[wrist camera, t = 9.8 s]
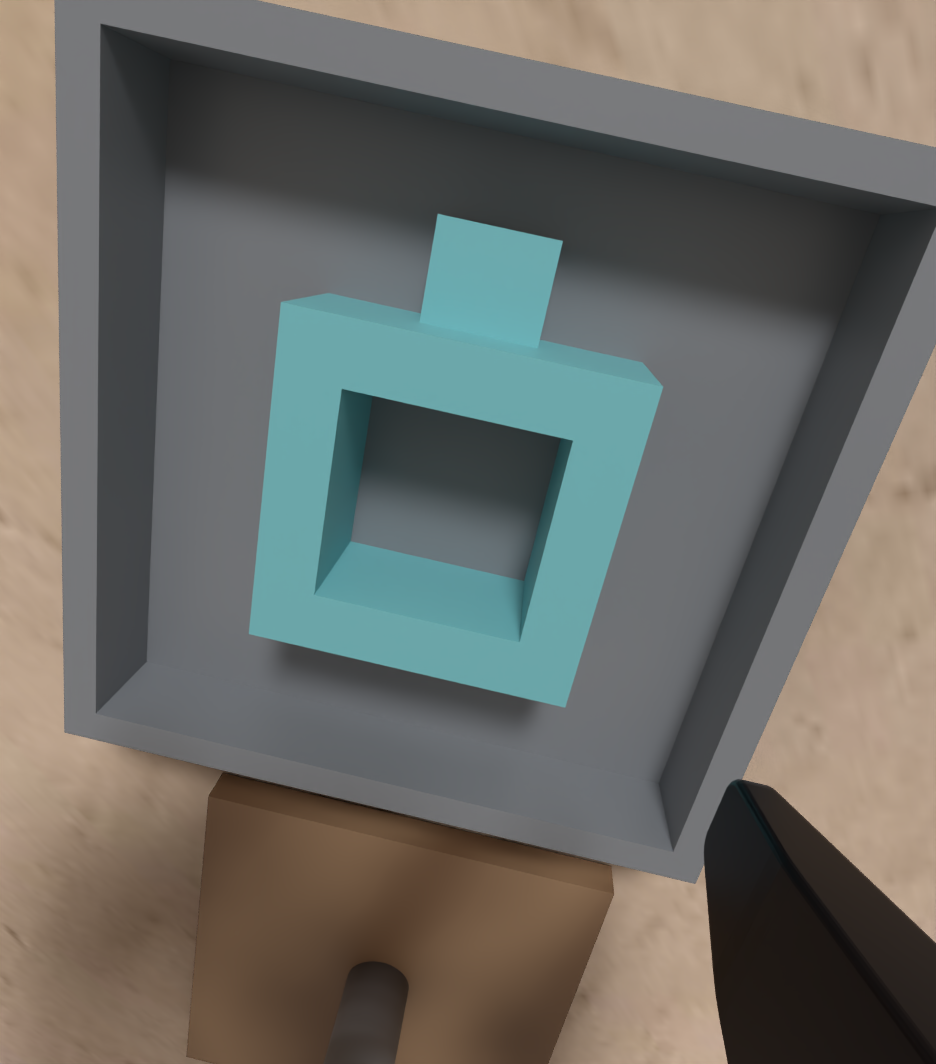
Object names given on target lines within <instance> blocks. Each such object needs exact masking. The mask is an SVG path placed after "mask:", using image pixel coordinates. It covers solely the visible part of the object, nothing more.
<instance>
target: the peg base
mask: <svg viewBox="0 0 936 1064" xmlns="http://www.w3.org/2000/svg"><path fill="white" fill-rule="evenodd" d="M613 896H614V888H613V878H612V869H611V866H608V865H604V864H600V863H596V862H592V861H588V860H583V859H579V858H575V857H571V856H567V855H563V854H558V853H554V852H550V851H546V850H542V849H538V848H533V847H529V846H525V845H521V844H517V843H513V842H508V841H504V840H500V839H496V838H492V837H488V836H483V835H479V834H475V833H471V832H467V831H463V830H459V829H454V828H450V827H446V826H442V825H438V824H434V823H429V822H425V821H421V820H417V819H413V818H409V817H404V816H400V815H396V814H392V813H388V812H384V811H379V810H375V809H371V808H367V807H363V806H359V805H354V804H350V803H346V802H342V801H338V800H334V799H330V798H325V797H321V796H317V795H313V794H309V793H305V792H300V791H296V790H292V789H288V788H284V787H280V786H275V785H271V784H267V783H263V782H259V781H255V780H250V779H246V778H242V777H238V776H234V775H230V774H226V773H223V774H222V775H221V777H220V779H219V780H218V782H217V783H216V785H215V787H214V788H213V790H212V791H211V793H210V795H209V797H208V809H207V821H206V832H205V844H204V856H203V868H202V880H201V891H200V903H199V915H198V927H197V939H196V950H195V962H194V974H193V986H192V998H191V1010H190V1021H189V1033H188V1045H187V1057H190V1058H194V1059H198V1060H202V1061H206V1062H210V1063H214V1064H548V1063H549V1060H550V1057H551V1055H552V1052H553V1050H554V1047H555V1045H556V1042H557V1039H558V1037H559V1034H560V1032H561V1029H562V1027H563V1024H564V1021H565V1019H566V1016H567V1014H568V1011H569V1009H570V1006H571V1003H572V1001H573V998H574V996H575V993H576V991H577V988H578V985H579V983H580V980H581V978H582V975H583V973H584V970H585V967H586V965H587V962H588V960H589V957H590V955H591V952H592V949H593V947H594V944H595V942H596V939H597V937H598V934H599V932H600V929H601V926H602V924H603V921H604V919H605V916H606V914H607V911H608V908H609V906H610V903H611V901H612V898H613Z"/></svg>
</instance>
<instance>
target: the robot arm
mask: <svg viewBox="0 0 936 1064" xmlns="http://www.w3.org/2000/svg"><path fill="white" fill-rule="evenodd" d="M704 866H705V878H706V890H707V902H708V914H709V926H710V939H711V951H712V963H713V974H714V984H715V993H716V1000H717V1006H718V1012H719V1018H720V1024H721V1029H722V1034H723V1040H724V1045H725V1050H726V1056H727V1061H728V1064H936V943H935V942H934V941H933V940H932V939H931V938H930V937H929V936H928V935H927V934H926V933H925V932H924V931H923V930H922V929H920V928H919V927H918V926H917V925H916V924H915V923H914V922H913V921H912V920H911V919H910V918H909V917H908V916H907V915H906V914H905V913H904V912H903V911H902V910H901V909H899V908H898V907H897V906H896V905H895V904H894V903H893V902H892V901H891V900H890V899H889V898H888V897H887V896H886V895H885V894H884V893H883V892H882V891H881V890H880V889H878V888H877V887H876V886H875V885H874V884H873V883H872V882H871V881H870V880H869V879H868V878H867V877H866V876H865V875H864V874H863V873H862V872H861V871H860V870H859V869H857V868H856V867H855V866H854V865H853V864H852V863H851V862H850V861H849V860H848V859H847V858H846V857H845V856H844V855H843V854H842V853H841V852H840V851H839V850H838V849H836V848H835V847H834V846H833V845H832V844H831V843H830V842H829V841H828V840H827V839H826V838H825V837H824V836H823V835H822V834H821V833H820V832H819V831H818V830H817V829H815V828H814V827H813V826H812V825H811V824H810V823H809V822H808V821H807V820H806V819H805V818H804V817H803V816H802V815H801V814H800V813H799V812H798V811H797V810H796V809H794V808H793V807H792V806H791V805H790V804H789V803H788V802H787V801H786V800H785V799H784V798H783V797H782V796H781V795H780V794H779V793H778V792H777V791H776V790H774V789H773V788H771V787H770V786H767V785H763V784H758V783H754V782H750V781H746V780H741V779H736V780H734V781H732V782H731V783H730V784H729V785H728V786H727V788H726V790H725V792H724V795H723V797H722V799H721V801H720V804H719V806H718V808H717V811H716V813H715V815H714V817H713V820H712V822H711V824H710V827H709V829H708V831H707V834H706V838H705V843H704Z"/></svg>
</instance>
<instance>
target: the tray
mask: <svg viewBox="0 0 936 1064" xmlns="http://www.w3.org/2000/svg"><path fill="white" fill-rule="evenodd" d="M55 66H56V140H57V214H58V287H59V361H60V434H61V508H62V582H63V655H64V729H65V733H69V734H73V735H78V736H82V737H86V738H90V739H94V740H98V741H103V742H107V743H111V744H115V745H119V746H123V747H128V748H132V749H136V750H140V751H144V752H148V753H152V754H157V755H161V756H165V757H169V758H173V759H177V760H182V761H186V762H190V763H194V764H198V765H202V766H207V767H211V768H215V769H219V770H223V771H227V772H232V773H236V774H240V775H244V776H248V777H252V778H257V779H261V780H265V781H269V782H273V783H277V784H282V785H286V786H290V787H294V788H298V789H302V790H306V791H311V792H315V793H319V794H323V795H327V796H331V797H336V798H340V799H344V800H348V801H352V802H356V803H361V804H365V805H369V806H373V807H377V808H381V809H386V810H390V811H394V812H398V813H402V814H406V815H411V816H415V817H419V818H423V819H427V820H431V821H436V822H440V823H444V824H448V825H452V826H456V827H460V828H465V829H469V830H473V831H477V832H481V833H485V834H490V835H494V836H498V837H502V838H506V839H510V840H515V841H519V842H523V843H527V844H531V845H535V846H540V847H544V848H548V849H552V850H556V851H560V852H565V853H569V854H573V855H577V856H581V857H585V858H590V859H594V860H598V861H602V862H606V863H610V864H614V865H619V866H623V867H627V868H631V869H635V870H639V871H644V872H648V873H652V874H656V875H660V876H664V877H669V878H673V879H677V880H681V881H685V882H689V883H694V884H695V883H696V881H697V879H698V877H699V874H700V872H701V870H702V868H703V865H704V843H705V838H706V834H707V831H708V829H709V827H710V824H711V822H712V820H713V817H714V815H715V813H716V811H717V808H718V806H719V804H720V801H721V799H722V797H723V795H724V792H725V790H726V788H727V786H728V785H729V784H730V783H731V782H732V781H734V780H736V779H741V780H742V778H743V776H744V773H745V771H746V769H747V767H748V764H749V762H750V760H751V758H752V755H753V753H754V751H755V749H756V746H757V744H758V742H759V740H760V737H761V735H762V733H763V731H764V728H765V726H766V724H767V722H768V720H769V717H770V715H771V713H772V711H773V708H774V706H775V704H776V702H777V699H778V697H779V695H780V693H781V690H782V688H783V686H784V684H785V681H786V679H787V677H788V675H789V672H790V670H791V668H792V666H793V663H794V661H795V659H796V657H797V654H798V652H799V650H800V648H801V645H802V643H803V641H804V639H805V636H806V634H807V632H808V630H809V627H810V625H811V623H812V621H813V618H814V616H815V614H816V612H817V610H818V607H819V605H820V603H821V601H822V598H823V596H824V594H825V592H826V589H827V587H828V585H829V583H830V580H831V578H832V576H833V574H834V571H835V569H836V567H837V565H838V562H839V560H840V558H841V556H842V553H843V551H844V549H845V547H846V544H847V542H848V540H849V538H850V535H851V533H852V531H853V529H854V526H855V524H856V522H857V520H858V517H859V515H860V513H861V511H862V509H863V506H864V504H865V502H866V500H867V497H868V495H869V493H870V491H871V488H872V486H873V484H874V482H875V479H876V477H877V475H878V473H879V470H880V468H881V466H882V464H883V461H884V459H885V457H886V455H887V452H888V450H889V448H890V446H891V443H892V441H893V439H894V437H895V434H896V432H897V430H898V428H899V425H900V423H901V421H902V419H903V416H904V414H905V412H906V410H907V407H908V405H909V403H910V401H911V399H912V396H913V394H914V392H915V390H916V387H917V385H918V383H919V381H920V378H921V376H922V374H923V372H924V369H925V367H926V365H927V363H928V360H929V358H930V356H931V354H932V351H933V349H934V347H935V345H936V147H931V146H927V145H922V144H917V143H913V142H908V141H903V140H899V139H894V138H890V137H885V136H880V135H876V134H871V133H867V132H862V131H857V130H853V129H848V128H844V127H839V126H834V125H830V124H825V123H820V122H816V121H811V120H807V119H802V118H797V117H793V116H788V115H784V114H779V113H774V112H770V111H765V110H760V109H756V108H751V107H747V106H742V105H737V104H733V103H728V102H724V101H719V100H714V99H710V98H705V97H701V96H696V95H691V94H687V93H682V92H677V91H673V90H668V89H664V88H659V87H654V86H650V85H645V84H641V83H636V82H631V81H627V80H622V79H617V78H613V77H608V76H604V75H599V74H594V73H590V72H585V71H581V70H576V69H571V68H567V67H562V66H557V65H553V64H548V63H544V62H539V61H534V60H530V59H525V58H521V57H516V56H511V55H507V54H502V53H498V52H493V51H488V50H484V49H479V48H474V47H470V46H465V45H461V44H456V43H451V42H447V41H442V40H438V39H433V38H428V37H424V36H419V35H414V34H410V33H405V32H401V31H396V30H391V29H387V28H382V27H378V26H373V25H368V24H364V23H359V22H355V21H350V20H345V19H341V18H336V17H331V16H327V15H322V14H318V13H313V12H308V11H304V10H299V9H295V8H290V7H285V6H281V5H276V4H271V3H267V2H262V1H258V0H55ZM438 214H441V215H446V216H450V217H455V218H459V219H464V220H469V221H473V222H478V223H482V224H487V225H492V226H496V227H501V228H505V229H510V230H515V231H519V232H524V233H528V234H533V235H537V236H542V237H547V238H551V239H556V240H560V241H563V243H562V247H561V251H560V256H559V260H558V264H557V268H556V273H555V277H554V281H553V285H552V290H551V294H550V298H549V303H548V307H547V311H546V315H545V320H544V324H543V328H542V332H541V337H540V340H543V341H548V342H552V343H557V344H561V345H566V346H570V347H575V348H579V349H584V350H588V351H593V352H597V353H602V354H606V355H611V356H616V357H620V358H625V359H629V360H634V361H638V362H643V363H644V365H645V366H646V367H647V368H648V369H649V370H650V372H651V373H652V374H653V375H654V376H655V378H656V379H657V380H658V381H659V382H660V383H661V385H662V386H663V390H662V393H661V396H660V399H659V403H658V406H657V409H656V413H655V416H654V419H653V422H652V426H651V429H650V432H649V435H648V439H647V442H646V445H645V449H644V452H643V455H642V458H641V462H640V465H639V468H638V471H637V475H636V478H635V481H634V484H633V488H632V491H631V494H630V498H629V501H628V504H627V507H626V511H625V514H624V517H623V520H622V524H621V527H620V530H619V533H618V537H617V540H616V543H615V547H614V550H613V553H612V556H611V560H610V563H609V566H608V569H607V573H606V576H605V579H604V583H603V586H602V589H601V592H600V596H599V599H598V602H597V605H596V609H595V612H594V615H593V618H592V622H591V625H590V628H589V632H588V635H587V638H586V641H585V645H584V648H583V651H582V654H581V658H580V661H579V664H578V667H577V671H576V674H575V677H574V681H573V684H572V687H571V690H570V694H569V697H568V700H567V703H566V707H560V706H556V705H552V704H547V703H543V702H539V701H534V700H530V699H526V698H522V697H517V696H513V695H509V694H504V693H500V692H496V691H491V690H487V689H483V688H479V687H474V686H470V685H466V684H461V683H457V682H453V681H449V680H444V679H440V678H436V677H431V676H427V675H423V674H418V673H414V672H410V671H406V670H401V669H397V668H393V667H388V666H384V665H380V664H375V663H371V662H367V661H363V660H358V659H354V658H350V657H345V656H341V655H337V654H333V653H328V652H324V651H320V650H315V649H311V648H307V647H302V646H298V645H294V644H290V643H285V642H281V641H277V640H272V639H268V638H264V637H259V636H255V635H251V634H249V626H250V616H251V606H252V595H253V585H254V575H255V565H256V554H257V544H258V534H259V523H260V513H261V503H262V492H263V482H264V472H265V461H266V451H267V441H268V430H269V420H270V410H271V399H272V389H273V379H274V368H275V358H276V348H277V337H278V327H279V317H280V306H281V302H284V301H289V300H294V299H299V298H305V297H310V296H315V295H320V294H326V293H331V294H335V295H340V296H344V297H349V298H353V299H358V300H362V301H367V302H371V303H376V304H380V305H385V306H390V307H394V308H399V309H403V310H408V311H412V312H417V313H421V310H422V304H423V298H424V293H425V287H426V281H427V275H428V269H429V263H430V257H431V251H432V245H433V240H434V234H435V228H436V222H437V216H438ZM560 440H561V438H559V437H555V436H550V435H546V434H541V433H537V432H532V431H528V430H523V429H519V428H514V427H510V426H506V425H501V424H497V423H492V422H488V421H483V420H479V419H474V418H470V417H465V416H461V415H456V414H452V413H448V412H443V411H439V410H434V409H430V408H425V407H421V406H416V405H412V404H407V403H403V402H399V401H394V400H390V399H385V398H381V397H376V396H373V397H372V404H371V410H370V417H369V424H368V430H367V437H366V443H365V450H364V457H363V463H362V470H361V477H360V483H359V490H358V496H357V503H356V510H355V516H354V523H353V529H352V536H351V541H352V542H356V543H360V544H365V545H369V546H373V547H378V548H382V549H387V550H391V551H395V552H400V553H404V554H408V555H413V556H417V557H421V558H426V559H430V560H435V561H439V562H443V563H448V564H452V565H456V566H461V567H465V568H470V569H474V570H478V571H483V572H487V573H491V574H496V575H500V576H504V577H509V578H513V579H518V580H522V581H524V579H525V576H526V572H527V568H528V564H529V560H530V556H531V552H532V549H533V545H534V541H535V537H536V533H537V529H538V525H539V521H540V518H541V514H542V510H543V506H544V502H545V498H546V494H547V490H548V487H549V483H550V479H551V475H552V471H553V467H554V463H555V459H556V456H557V452H558V448H559V444H560Z"/></svg>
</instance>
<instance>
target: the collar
mask: <svg viewBox="0 0 936 1064" xmlns="http://www.w3.org/2000/svg"><path fill="white" fill-rule="evenodd" d="M562 243H563V241H560V240H556V239H551V238H547V237H542V236H537V235H533V234H528V233H524V232H519V231H515V230H510V229H505V228H501V227H496V226H492V225H487V224H482V223H478V222H473V221H469V220H464V219H459V218H455V217H450V216H446V215H441V214H438V216H437V222H436V228H435V234H434V240H433V245H432V251H431V257H430V263H429V269H428V275H427V281H426V287H425V293H424V298H423V304H422V310H421V313H417V312H412V311H408V310H403V309H399V308H394V307H390V306H385V305H380V304H376V303H371V302H367V301H362V300H358V299H353V298H349V297H344V296H340V295H335V294H331V293H326V294H320V295H315V296H310V297H305V298H299V299H294V300H289V301H284V302H281V306H280V317H279V327H278V337H277V348H276V358H275V368H274V379H273V389H272V399H271V410H270V420H269V430H268V441H267V451H266V461H265V472H264V482H263V492H262V503H261V513H260V523H259V534H258V544H257V554H256V565H255V575H254V585H253V595H252V606H251V616H250V626H249V634H251V635H255V636H259V637H264V638H268V639H272V640H277V641H281V642H285V643H290V644H294V645H298V646H302V647H307V648H311V649H315V650H320V651H324V652H328V653H333V654H337V655H341V656H345V657H350V658H354V659H358V660H363V661H367V662H371V663H375V664H380V665H384V666H388V667H393V668H397V669H401V670H406V671H410V672H414V673H418V674H423V675H427V676H431V677H436V678H440V679H444V680H449V681H453V682H457V683H461V684H466V685H470V686H474V687H479V688H483V689H487V690H491V691H496V692H500V693H504V694H509V695H513V696H517V697H522V698H526V699H530V700H534V701H539V702H543V703H547V704H552V705H556V706H560V707H566V703H567V700H568V697H569V694H570V690H571V687H572V684H573V681H574V677H575V674H576V671H577V667H578V664H579V661H580V658H581V654H582V651H583V648H584V645H585V641H586V638H587V635H588V632H589V628H590V625H591V622H592V618H593V615H594V612H595V609H596V605H597V602H598V599H599V596H600V592H601V589H602V586H603V583H604V579H605V576H606V573H607V569H608V566H609V563H610V560H611V556H612V553H613V550H614V547H615V543H616V540H617V537H618V533H619V530H620V527H621V524H622V520H623V517H624V514H625V511H626V507H627V504H628V501H629V498H630V494H631V491H632V488H633V484H634V481H635V478H636V475H637V471H638V468H639V465H640V462H641V458H642V455H643V452H644V449H645V445H646V442H647V439H648V435H649V432H650V429H651V426H652V422H653V419H654V416H655V413H656V409H657V406H658V403H659V399H660V396H661V393H662V390H663V386H662V385H661V383H660V382H659V381H658V380H657V379H656V378H655V376H654V375H653V374H652V373H651V372H650V370H649V369H648V368H647V367H646V366H645V365H644V363H643V362H638V361H634V360H629V359H625V358H620V357H616V356H611V355H606V354H602V353H597V352H593V351H588V350H584V349H579V348H575V347H570V346H566V345H561V344H557V343H552V342H548V341H543V340H540V337H541V332H542V328H543V324H544V320H545V315H546V311H547V307H548V303H549V298H550V294H551V290H552V285H553V281H554V277H555V273H556V268H557V264H558V260H559V256H560V251H561V247H562ZM373 396H376V397H381V398H385V399H390V400H394V401H399V402H403V403H407V404H412V405H416V406H421V407H425V408H430V409H434V410H439V411H443V412H448V413H452V414H456V415H461V416H465V417H470V418H474V419H479V420H483V421H488V422H492V423H497V424H501V425H506V426H510V427H514V428H519V429H523V430H528V431H532V432H537V433H541V434H546V435H550V436H555V437H559V438H561V440H560V444H559V448H558V452H557V456H556V459H555V463H554V467H553V471H552V475H551V479H550V483H549V487H548V490H547V494H546V498H545V502H544V506H543V510H542V514H541V518H540V521H539V525H538V529H537V533H536V537H535V541H534V545H533V549H532V552H531V556H530V560H529V564H528V568H527V572H526V576H525V579H524V581H522V580H518V579H513V578H509V577H504V576H500V575H496V574H491V573H487V572H483V571H478V570H474V569H470V568H465V567H461V566H456V565H452V564H448V563H443V562H439V561H435V560H430V559H426V558H421V557H417V556H413V555H408V554H404V553H400V552H395V551H391V550H387V549H382V548H378V547H373V546H369V545H365V544H360V543H356V542H352V541H351V536H352V529H353V523H354V516H355V510H356V503H357V496H358V490H359V483H360V477H361V470H362V463H363V457H364V450H365V443H366V437H367V430H368V424H369V417H370V410H371V404H372V397H373Z"/></svg>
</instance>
